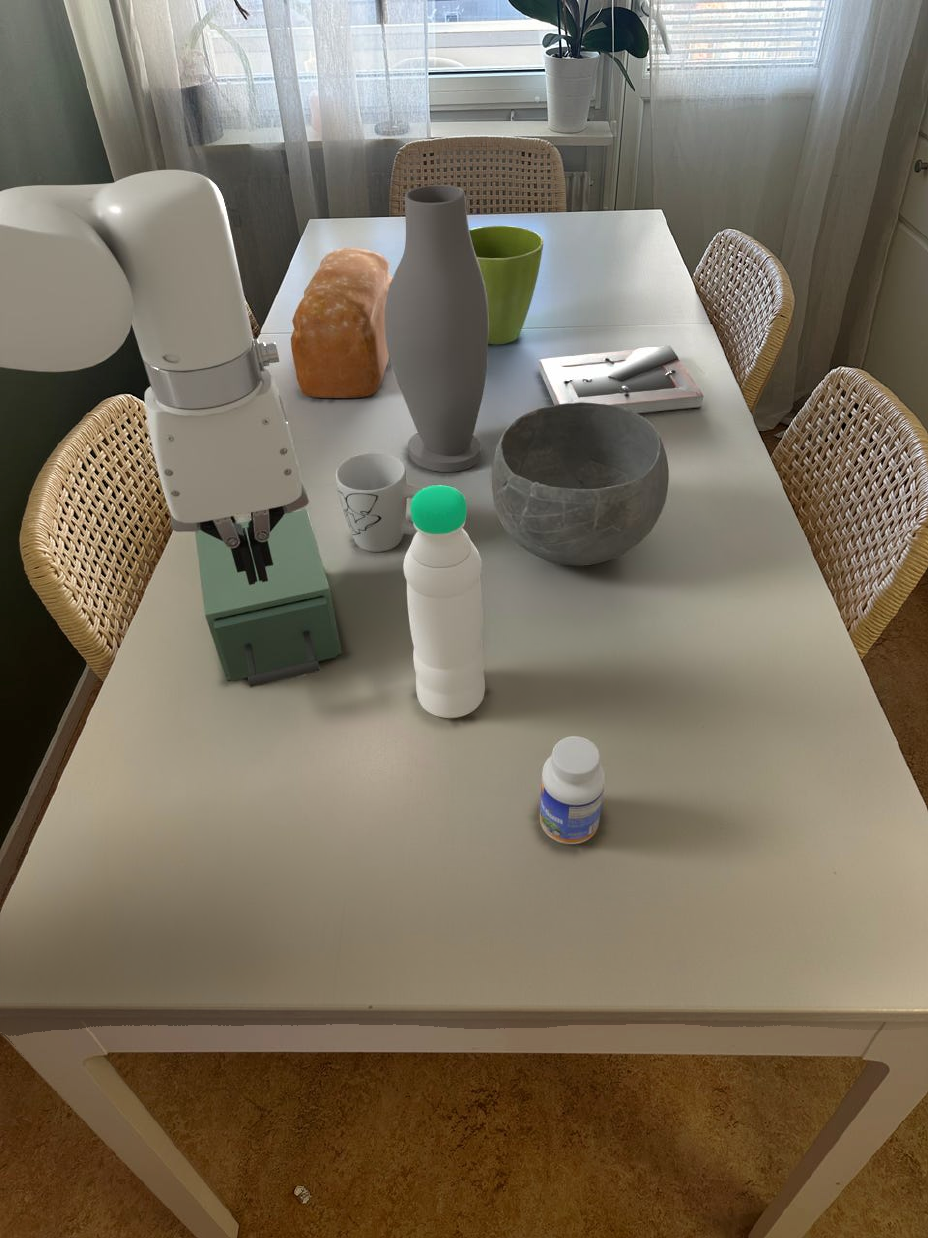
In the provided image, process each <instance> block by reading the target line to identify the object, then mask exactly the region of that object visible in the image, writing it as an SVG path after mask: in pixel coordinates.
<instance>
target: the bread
mask: <svg viewBox="0 0 928 1238" xmlns="http://www.w3.org/2000/svg"><path fill="white" fill-rule="evenodd" d="M392 278H393V276H392V275H390V263H389V261H388V260H387V258H386V257H385V256H384V255H383V254H380V253H378V252H374V251H372V250H368V249H365V248H352V247H351V248H349V247H345V248H340V249H336V250H332V251H331V252H329V253H328V254H326V255H325V256H323V258H322V259H321V261H320V263H319V267H318V268H317V270H316V272H314V275H313V277H312V278H311V280H310V282H309V283H308V285H307V286H306V287H305V289H304V291H303V297H302V299H301V300H300V302H299V304H298V306H297V307H296V310H295V312H294V314H293V317H292V320H291V322H292V326H293V331H292V333H291V336H290V349H291V354H292V360H293V366H294V371H295V376H296V381H297V383H298V386H299V389H300V391H301V393H302V395H305V396H308V397H311V398H323V399H354V398H355V399H357V398H365V397H368V396H372V395H375V393H377V391H378V389H379V387H381V385H382V383H383V379H384V375H385V372H386V369H387V366H388V363H389V361H390V359H389V355H388V351H387V345H386V338H385V305H386V297H387V292H388V289H389V286H390V283H391V281H392Z"/></svg>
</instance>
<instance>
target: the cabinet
mask: <svg viewBox="0 0 928 1238" xmlns="http://www.w3.org/2000/svg"><path fill="white" fill-rule="evenodd" d="M250 521H251V519H249V520H245V521H239V522H237V523H238V524H240V525H242V528H245V530H246V534H247V538H248V542H249V537H248V531H247V527H249V525H248V523H249V522H250ZM194 533H195V534H194V535H195V541H196V550H197V556H198V558H197V559H198V566H199V567H198V568H199V576H200V584H201V593H202V600H203V609H204V617H205V620H206V624H207V626H208V628H209V632H210V635H211V638H212V641H213V644H214V646H215V651H216V653H217V656H218V660H219V662H220V666H221V668H222V669H221V670H222V671H223V674H224V678H225V680H226V681H231V679H230V676H229V673H228V670H227V666H226V663H225V660H224V657H223V654H222V651H221V648H220V645H219V642H218V638H217V635H216V632H215V629H214V622H213V621H215V620H219V619H222V617H227V616H231V615H236V614H240V613H245V612H250V611H254V610H259V609H263V608H268V607H272V606H277V605H282V604H286V603H291V602H295V601H300V600H304V599H309V598H314V597H318V598H320V597H324V596H325V597H326V601H327V605H328V610H329V616H330V621H331V626H332V631H333V636H334V641H335V647H336V652H337V656H338V655H339V656H340V655H342V652H343V651H342V646H341V642H340V636H339V631H338V626H337V621H336V615H335V609H334V604H333V599H332V593H331V588H330V584H329V581H328V577H327V574H326V570H325V567H324V563H323V560H322V557H321V552H320V549H319V547H318V543H317V539H316V535H315V532H314V529H313V525H312V522H311V517H310V515H309V511H308V509H307V508H305V509H299V510H296V511H293V512H291V513H289V514H288V513H286V514H284V516H283V517H282V518H281V520H280V521H279V522H278V523H277V525H276V526H275V527H274V528H273V529H272V531H271V532H270V538H269V539H268V544H269V548H270V552H271V556H272V561H273V565H271V566H267V567H265V568H266V573H267V577H268V581H266V582H262V581H259V578H258V574H257V570H256V566H255V563H254V566H255V571H256V577H257V582H255V584H252V585H249V582H248V579H247V575H246V571H243V572H238V573H237V570H236V566H235V562H234V559H233V555H232V552H231V548H228V547H227V546H226V545H225V543H224V542H223V541H221V540H219V539H217V538H215V537H213V536H211V535H209V534H207V533H204V532H203V531H198V532H194ZM249 546H250V542H249ZM250 550H251V547H250ZM251 554H252V551H251ZM252 557H253V555H252ZM253 561H254V559H253Z"/></svg>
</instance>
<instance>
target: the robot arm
mask: <svg viewBox="0 0 928 1238" xmlns="http://www.w3.org/2000/svg"><path fill="white" fill-rule="evenodd" d="M234 245H235V244H234V241H233V236H232V230H231V227H230V221H229V217H228V213H227V207H226V205H225V201H224V197H223V195H222V193H221V191H220V190H219V188H218V186H217V185H216V184H215V183H214V182H213V181H212V180H211V179H210V178H208V177H207V176H205V175H203V174H201V173H198V172H194V171H188V170H183V169H161V170H160V169H158V170H151V171H144V172H139V173H135V174H131V175H128V176H126V177H123V178H121V179H118V180H117V181H114V182H110V183H97V184H94V183H93V184H66V185H65V184H64V185H62V184H60V185H59V184H56V185H55V184H47V185H46V184H44V185H42V184H41V185H40V184H39V185H23V186H16V187H12V188H6V189H3V190H1V191H0V368H5V369H11V370H19V371H20V370H21V371H27V372H28V371H29V372H42V373H44V372H45V373H46V372H47V373H63V372H73V371H74V372H75V371H79V370H82V369H83V370H84V369H87V368H91V367H94V366H96V365H98V364H101V363H102V362H105V361H106V360H107V359H109V358H110V357H112V355H114V354H115V353H116V352H117V351H118V350H120V348H121V347H122V346H123V344H124V343H125V341H126V339H127V337H128V335H129V334H130V331H131V328H132V330H133V333H134V336H135V340H136V342H137V346H138V349H139V353H140V356H141V359H142V362H143V365H144V368H145V372H146V375H147V379H148V382H149V385H150V386H149V387H147V388H146V390H145V391H144V407H145V408H144V409H145V416H146V422H147V428H148V433H149V439H150V442H151V447H152V448H151V449H152V453H153V456H154V461H155V465H156V469H157V473H158V477H159V481H160V483H161V484H160V485H161V488H162V492H163V495H164V498H165V502H166V504H167V508H168V511H169V512H170V524H171V525H170V527H171V529H172V530H173V531H174V532H179V533H180V532H181V533H185V532H186V533H187V532H190V533H193V532H194V533H195V532H198V531H203V532H204V533H207V534H209V535H211V536H213V537H215V538H217V539H219V540H221V541H223V542H224V543H225V545H226V546H227V547H228V548H231V552H232V555H233V559H234V562H235V566H236V570H237V573H238V572H243V571H246V575H247V579H248V582H249V585H252V584H255V582H257V577H256V571H255V566H256V570H257V574H258V578H259V581H262V582H266V581H268V577H267V573H266V568H265V567H267V566H271V565H273V561H272V556H271V552H270V548H269V544H268V539H269V538H270V532H271V531H272V529H273V528H274V527H275V526H276V525H277V523H278V522H279V521H280V520H281V518H282V517H283V516H284V514H286V513H288V514H289V513H291V512H295V511H299V510H301V509H303V508H306V506H308V505H309V503H310V501H309V497H308V493H307V491H306V489H305V486H304V484H303V483H302V477H301V471H300V466H299V462H298V457H297V453H296V448H295V445H294V441H293V437H292V433H291V430H290V426H289V425H290V424H289V422H288V418H287V413H286V409H285V407H284V403H283V401H282V398H281V395H280V392H279V390H278V387H277V385H276V383H275V381H274V378H273V376H272V374H271V372H270V371H269V370H268V369H267V368H265V367H270V364H275V363H280V357H279V352H278V348H277V344H276V342H271V343H265V342H259V340H258V338H255V339H254V334H253V330H252V325H251V321H250V315H249V311H248V307H247V301H246V298H245V293H244V289H243V284H242V283H243V282H242V279H241V274H240V270H239V265H238V260H237V256H236V255H237V254H236V250H235V246H234ZM245 514H250V520H251V521H250V522H249V523H248V525H249V527H247V531H248V537H249V542H250V546H249V542H248V538H247V534H246V530H245V528H242V525H240V524H238V523H239V522H237V519H236V516H240V515H245ZM250 547H251V550H250ZM251 551H252V554H251ZM252 555H253V557H252ZM253 559H254V561H253ZM254 563H255V566H254Z"/></svg>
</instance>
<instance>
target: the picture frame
mask: <svg viewBox="0 0 928 1238" xmlns="http://www.w3.org/2000/svg"><path fill="white" fill-rule="evenodd" d="M538 361H539V367H538V368H539V369H538V370H539V372H540V375H541V377H542V379H543V381H544V384H545V386H546V389H547V391H548V393H549V397H550V398H551V401H552V403H553V405H557V404H563V403H576V402H584V403H599V404H609V405H614V406H619V407H622V408H625V409H628V410H631V411H633V412H635V413H637V414H639V415H640V414H648V413H658V412H666V411H674V410H686V409H694V408H695V409H697V408H701V407H703V403H704V396H705V395H704V393H703V392H702V391H701V389H700V388H699V386H698V385H697V383H696V382H695V381H694V379H693V378H692V376H691V375H690V374H689V372H688V371H687V369H686V367H685V366H684V365H683V363H682V362H681V360H680V359H679V355H677V353H676V352H675V350H674V349H673V347H672V346H671V345H664V346H662V345H661V346H654V347H653V346H652V347H641V348H640V347H639V348H638V349H632V350H630V349H629V350H621V351H608V352H599V353H589V354H579V355H569V356H567V355H566V356H557V357H555V356H554V357H545V358H539V360H538Z"/></svg>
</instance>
